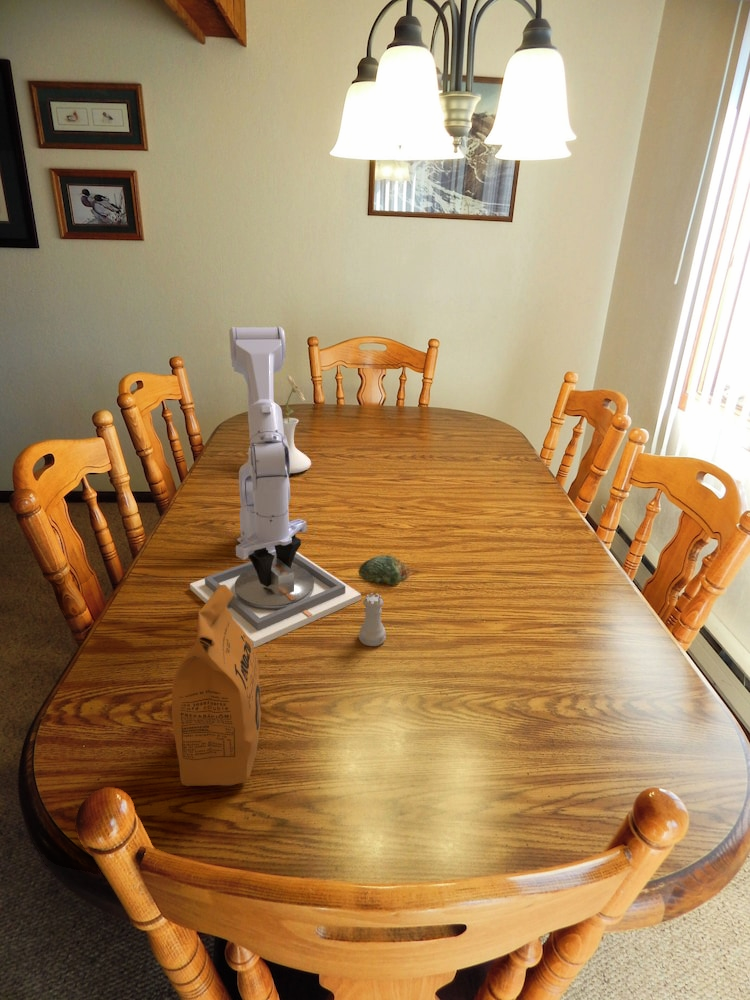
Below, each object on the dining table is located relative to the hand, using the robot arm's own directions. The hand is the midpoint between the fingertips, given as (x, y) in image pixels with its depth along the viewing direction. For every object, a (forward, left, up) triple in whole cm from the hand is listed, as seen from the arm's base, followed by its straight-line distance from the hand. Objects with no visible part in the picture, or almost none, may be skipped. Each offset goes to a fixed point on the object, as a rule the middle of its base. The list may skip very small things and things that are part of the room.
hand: (274, 579), depth 111 cm
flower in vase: (-51, +38, -3) cm, 64 cm away
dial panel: (0, 0, -3) cm, 3 cm away
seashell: (+6, +21, -4) cm, 22 cm away
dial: (0, 0, -2) cm, 2 cm away
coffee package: (+27, -25, -3) cm, 37 cm away
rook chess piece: (+21, +5, -3) cm, 22 cm away
